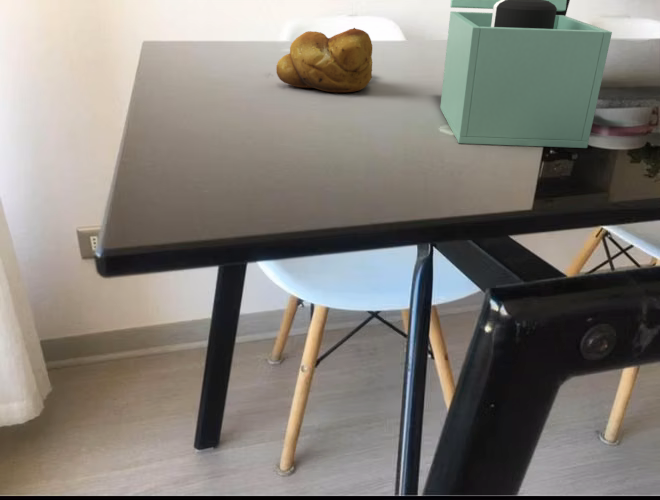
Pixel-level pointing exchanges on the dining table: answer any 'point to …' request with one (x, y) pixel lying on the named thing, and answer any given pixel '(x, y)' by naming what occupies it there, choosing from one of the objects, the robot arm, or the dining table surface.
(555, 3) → the lid
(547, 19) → the medicine bottle
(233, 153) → the dining table surface
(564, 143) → the cool box
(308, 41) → the bread roll
